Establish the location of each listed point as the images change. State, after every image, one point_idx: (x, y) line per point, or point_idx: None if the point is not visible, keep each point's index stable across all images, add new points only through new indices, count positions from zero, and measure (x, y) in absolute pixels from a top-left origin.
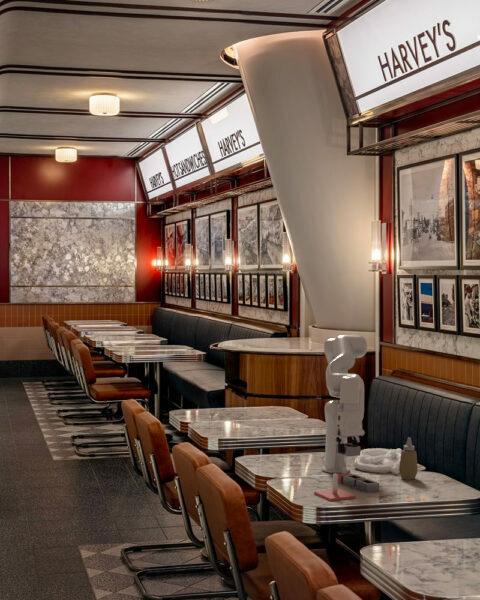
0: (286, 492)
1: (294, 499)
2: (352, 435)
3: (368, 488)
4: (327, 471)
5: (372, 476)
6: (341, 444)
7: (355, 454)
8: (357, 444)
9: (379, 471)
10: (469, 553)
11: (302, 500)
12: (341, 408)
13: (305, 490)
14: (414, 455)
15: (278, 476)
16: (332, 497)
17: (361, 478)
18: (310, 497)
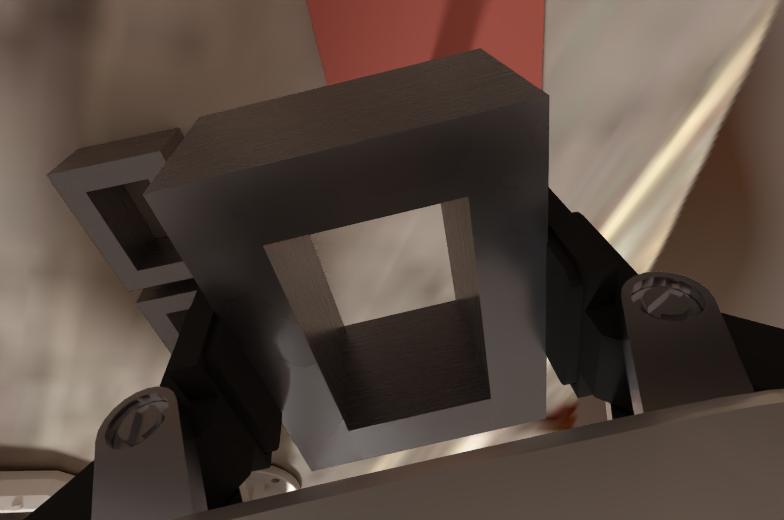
0: (647, 218)
1: (721, 61)
2: (417, 498)
3: (158, 141)
4: (287, 475)
5: (80, 427)
6: (615, 288)
7: (308, 98)
8: (191, 335)
9: (30, 473)
10: None
11: (696, 23)
12: None
13: None
14: None
15: (507, 435)
16: None
17: (171, 304)
18: (600, 90)
